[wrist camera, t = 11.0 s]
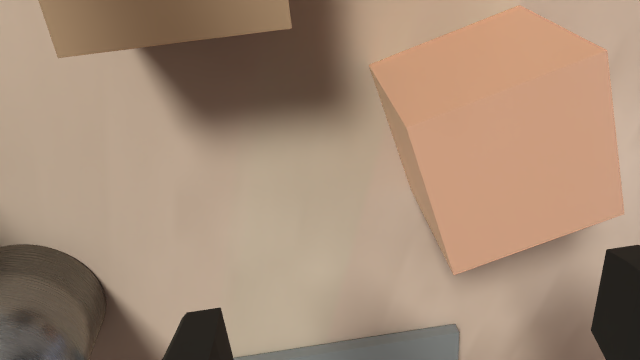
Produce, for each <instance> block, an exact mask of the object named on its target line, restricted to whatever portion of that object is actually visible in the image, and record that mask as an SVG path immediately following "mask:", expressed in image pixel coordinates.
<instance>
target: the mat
mask: <svg viewBox="0 0 640 360" xmlns="http://www.w3.org/2000/svg"><path fill="white" fill-rule="evenodd" d="M458 351H459V331H458V329H457V327H456V324H451V325H445V326H439V327H432V328H426V329H419V330H413V331H406V332H400V333H393V334H387V335H380V336H374V337H367V338H361V339H354V340H348V341H342V342H335V343H329V344H322V345H316V346H309V347H303V348H296V349H290V350H283V351H277V352H270V353H264V354H257V355H251V356H245V357H238V358H233V359H234V360H458Z"/></svg>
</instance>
